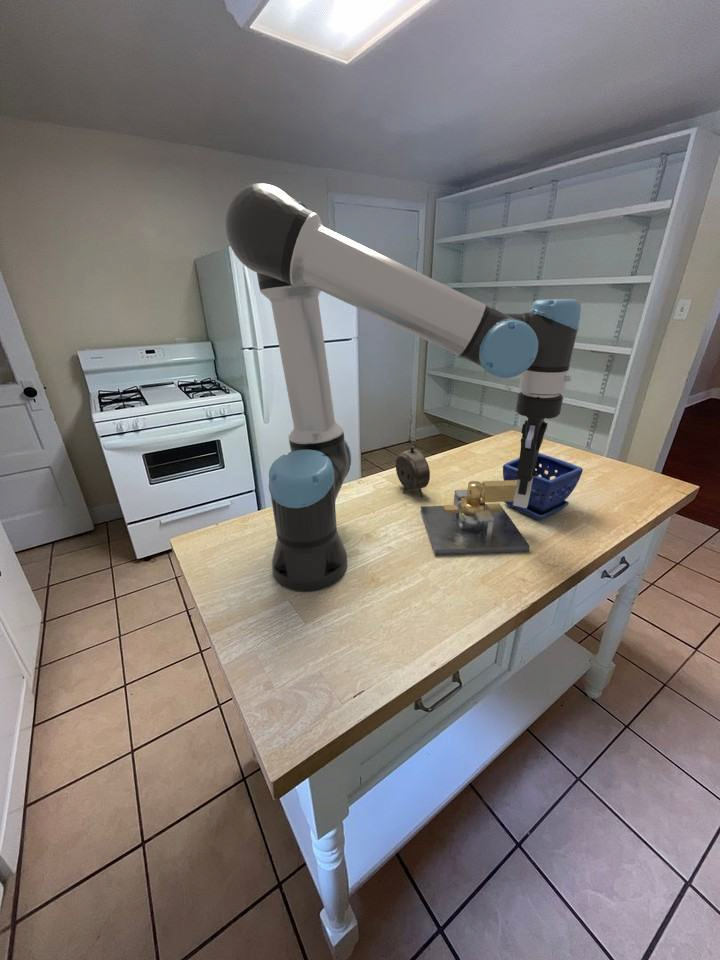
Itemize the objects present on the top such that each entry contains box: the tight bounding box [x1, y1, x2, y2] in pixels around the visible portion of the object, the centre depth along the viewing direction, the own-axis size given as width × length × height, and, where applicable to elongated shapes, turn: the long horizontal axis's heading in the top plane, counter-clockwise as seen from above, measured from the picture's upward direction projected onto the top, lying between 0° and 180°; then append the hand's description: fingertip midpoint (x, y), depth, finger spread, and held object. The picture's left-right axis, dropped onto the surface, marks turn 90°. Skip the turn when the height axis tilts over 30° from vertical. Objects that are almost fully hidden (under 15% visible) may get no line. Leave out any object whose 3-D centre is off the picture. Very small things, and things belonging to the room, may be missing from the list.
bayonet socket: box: [420, 489, 531, 556], centre depth 87 cm, size 20×18×7 cm
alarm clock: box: [395, 435, 431, 498], centre depth 103 cm, size 11×5×16 cm, turn 27°
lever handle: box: [442, 480, 517, 516], centre depth 85 cm, size 17×5×7 cm, turn 91°
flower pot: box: [502, 452, 584, 521], centre depth 95 cm, size 13×13×12 cm
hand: (520, 505), depth 80 cm, fingers closed
